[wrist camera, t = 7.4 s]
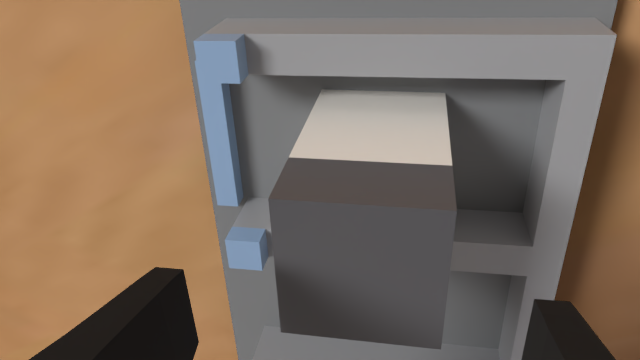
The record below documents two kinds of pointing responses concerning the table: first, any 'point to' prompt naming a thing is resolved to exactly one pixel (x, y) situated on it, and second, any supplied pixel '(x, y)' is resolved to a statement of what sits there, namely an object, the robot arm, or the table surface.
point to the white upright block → (367, 220)
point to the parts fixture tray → (464, 130)
